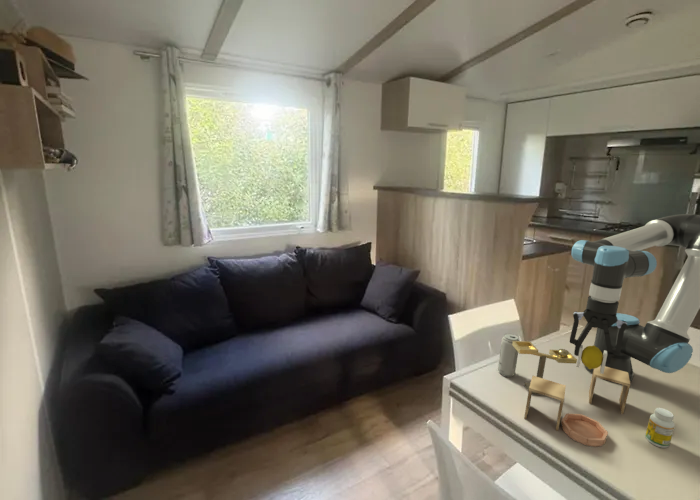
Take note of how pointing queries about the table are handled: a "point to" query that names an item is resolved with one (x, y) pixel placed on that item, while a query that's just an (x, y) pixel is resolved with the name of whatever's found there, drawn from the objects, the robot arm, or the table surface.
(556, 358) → the balance
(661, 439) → the supplement bottle
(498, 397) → the table surface
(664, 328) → the robot arm
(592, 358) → the lemon
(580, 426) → the saucer
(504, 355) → the energy drink can
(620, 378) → the oak cover
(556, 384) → the oak cover
